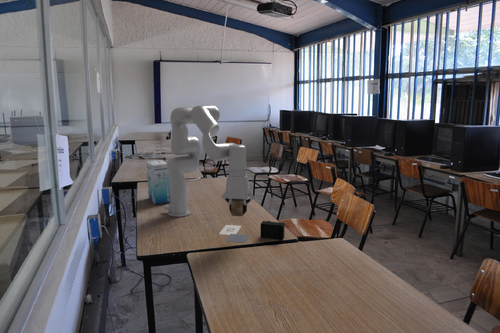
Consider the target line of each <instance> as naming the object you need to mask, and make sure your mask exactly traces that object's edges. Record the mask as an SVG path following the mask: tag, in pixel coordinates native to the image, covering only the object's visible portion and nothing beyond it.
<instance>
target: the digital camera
mask: <svg viewBox="0 0 500 333" xmlns="http://www.w3.org/2000/svg"><path fill="white" fill-rule="evenodd" d="M285 224H286V223H285V222H277V221H270V220H262V222H261V223H260V238H263V239H269V240H274V241H275V240H276V241H283V240H284V239H285V228H286V227H285Z"/></svg>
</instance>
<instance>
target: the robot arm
mask: <svg viewBox="0 0 500 333" xmlns="http://www.w3.org/2000/svg"><path fill="white" fill-rule="evenodd" d="M219 119H220V110H219V109H218V107H217V106H215V105H213V104H212V105H211V104H210V105H209V104H204V105H201V104H200V105H196V106H192V107H191V106H184V107H183V106H181V107H176V108H174V109H173V110H172V111H171V113H170V124H171V138H170V140H171V142H170V152H171V154H173V155H175V156H173V157H171V158H169V159H168V160H167V162H166V163H167V170H168V174H169V185H170V203H169V205H167V204H164V205H163V209H164V210H165V211H166V210H168V211H167V215H168V216H169V217H175V218H176V217H177V218H179V217H181V218H182V217H186V216H188V215H190V214H191V213H192V210H191V209H189V198H188V196H189V195H188V194H189V193H188V180H187V179H186V177H185V174H189V173H195V172H197V170H198V169H199V165H200V154H201V145H202V149H203V150H204V152H205V154H206V155H207V156H208V158H210V159H211V161H213V162H221V161H227V160H228V169H226V170H225V174H228V175H227V176H226V183H225V191H224V193H223V194H222V195H221V198H222V199H223V200H225V202H227V203H228V206H229V207H228V208H229V210H228V211H230V212H229V213H231V200H232V199H242V200H243V203H244V205H243V214H244V215H245V214H246V212H248V204H249V203H250V202H251V201H252V200H254V199H255V196H254V194H253V193H252V192H251V191H250V182H249V176H248V175H247V148H246V146H245V145H244V144H237V143H235V142H224V143H223V142H222V143H215V142H214V140H213V139H212V138H213V137H214V136H216V135H217V134H218V133H219V131H220V125H219V124H218V121H219ZM194 124H195V125H196V127H197V128H198V129H199V131H200V132H201V134H202V138H201V142H200V139H199V138H197V136H193V135H190V136H189V128H188V126H187V125H194Z"/></svg>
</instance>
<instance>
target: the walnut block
mask: <svg viewBox="0 0 500 333" xmlns="http://www.w3.org/2000/svg"><path fill="white" fill-rule="evenodd" d="M243 205H244V203H243V200H242V199H232V200H231V212H230V214H231V217H243V216H244V215H245V214H243Z"/></svg>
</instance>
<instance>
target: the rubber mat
mask: <svg viewBox="0 0 500 333" xmlns="http://www.w3.org/2000/svg"><path fill="white" fill-rule="evenodd" d="M249 237H250V235H249V234H230V235H228V237H227V239H226V240H225V242H227V243H228V242H229V243H242V244H243V243H245V244H246V243H247V241H248V239H249Z"/></svg>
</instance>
